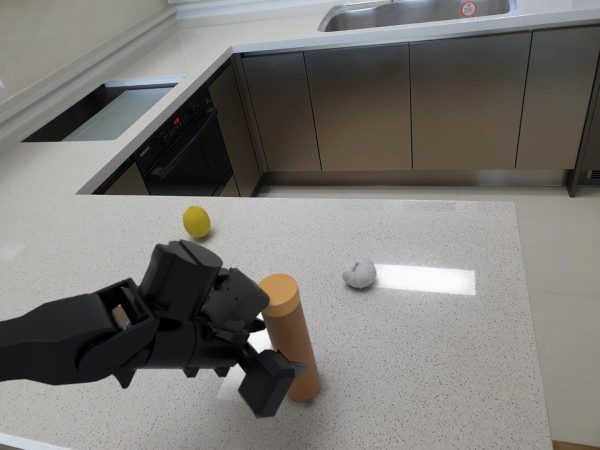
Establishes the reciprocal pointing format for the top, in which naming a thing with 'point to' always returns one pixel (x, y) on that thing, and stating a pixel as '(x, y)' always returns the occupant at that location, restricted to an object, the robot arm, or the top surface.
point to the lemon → (196, 221)
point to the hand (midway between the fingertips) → (284, 346)
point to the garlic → (359, 273)
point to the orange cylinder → (290, 332)
